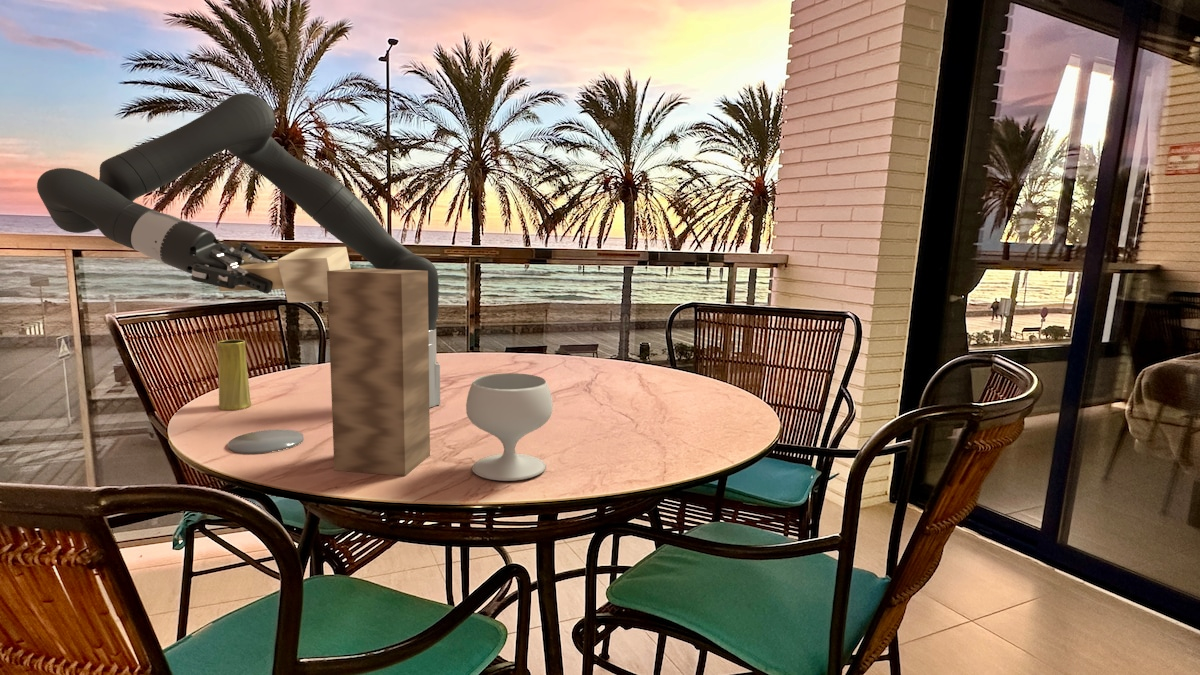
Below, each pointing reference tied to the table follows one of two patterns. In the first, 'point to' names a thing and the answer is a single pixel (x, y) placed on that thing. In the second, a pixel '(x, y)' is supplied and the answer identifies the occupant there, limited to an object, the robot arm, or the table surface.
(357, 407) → the herringbone wood pillar
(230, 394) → the vase
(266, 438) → the grey flat disc
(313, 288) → the mallet
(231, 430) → the table surface
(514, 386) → the chalice
